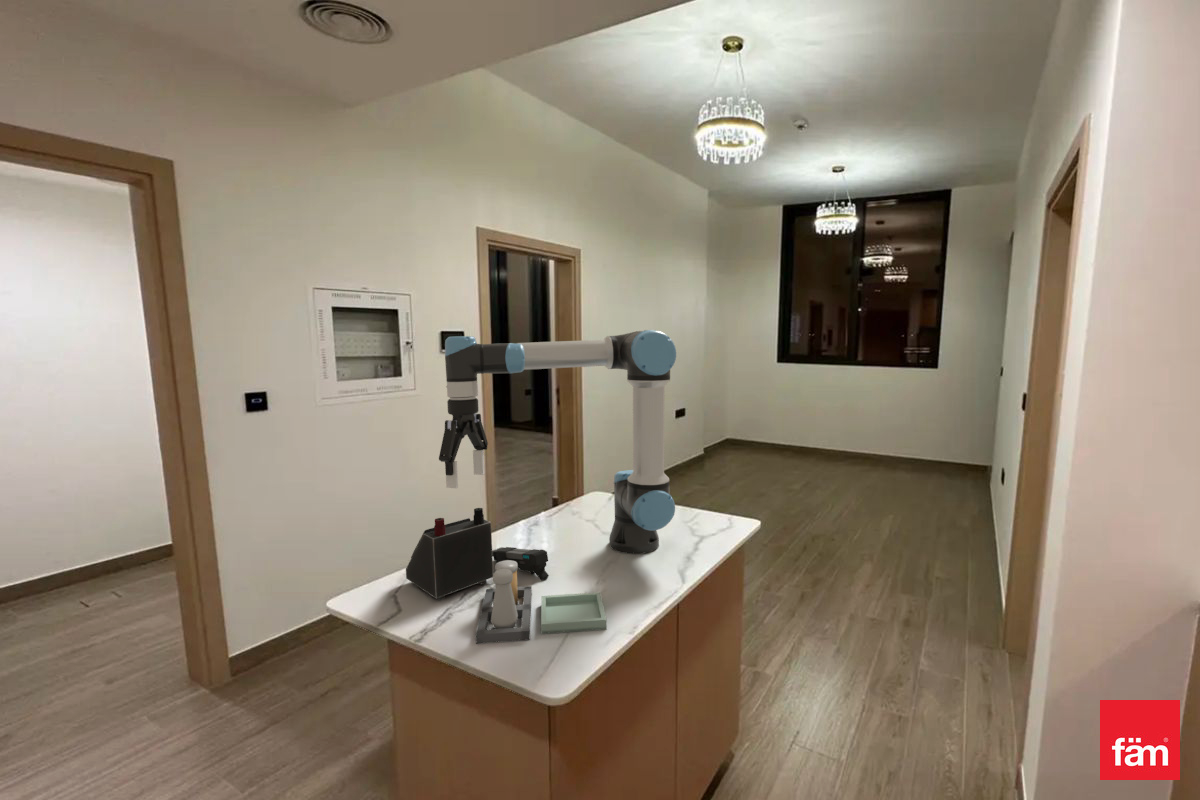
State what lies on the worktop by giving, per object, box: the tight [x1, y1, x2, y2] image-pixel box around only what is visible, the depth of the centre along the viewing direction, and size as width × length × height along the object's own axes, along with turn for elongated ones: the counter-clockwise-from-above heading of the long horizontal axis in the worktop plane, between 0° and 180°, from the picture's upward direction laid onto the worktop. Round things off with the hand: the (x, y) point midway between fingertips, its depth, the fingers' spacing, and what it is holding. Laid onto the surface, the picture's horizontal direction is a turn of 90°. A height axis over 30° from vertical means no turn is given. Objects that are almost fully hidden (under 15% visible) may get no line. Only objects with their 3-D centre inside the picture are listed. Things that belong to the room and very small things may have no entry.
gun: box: [492, 546, 550, 581], centre depth 148 cm, size 4×20×10 cm, turn 48°
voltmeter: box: [405, 507, 494, 601], centre depth 140 cm, size 16×16×20 cm
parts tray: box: [540, 591, 608, 635], centre depth 122 cm, size 14×13×2 cm
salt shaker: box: [490, 569, 519, 629], centre depth 117 cm, size 6×6×13 cm
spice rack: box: [475, 560, 533, 645], centre depth 122 cm, size 11×21×10 cm, turn 6°
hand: (466, 480), depth 138 cm, fingers open, 13 cm apart
